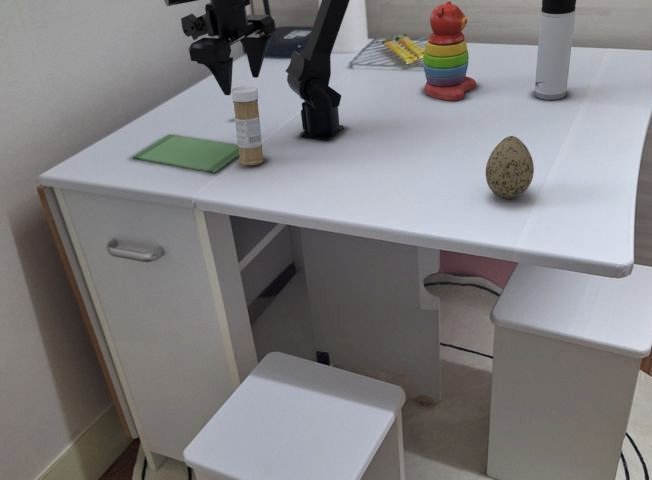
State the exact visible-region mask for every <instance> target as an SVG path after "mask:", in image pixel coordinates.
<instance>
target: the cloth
mask: <svg viewBox="0 0 652 480" xmlns="http://www.w3.org/2000/svg"><path fill="white" fill-rule="evenodd" d="M239 157H240V156H239V148H238V144H232V143H227V142H219V141H213V140H208V139H201V138H196V137H195V138H194V137H187V136H181V135H175V134H167V135H166V136H163V137H162V138H161V139H158V140H157V141H156V142H154V143H152V144H150V145H149V146H147V147H146V148H144V149H142V150H141V151H139V152H137V153H136V154H134V155H132V159H134V160H139V161H146V162H152V163H156V164H163V165H167V166H174V167H179V168H185V169H188V170H189V169H190V170H195V171H201V172H206V173H210V174H211V173H212V174H216V173H217V172H219V171H220V170H222V169H223V168H224V167H226V166H227V165H229V164H230V163H232V162H233V161H234V160H236V159H237V158H239Z"/></svg>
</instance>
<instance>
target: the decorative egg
mask: <svg viewBox="0 0 652 480" xmlns="http://www.w3.org/2000/svg"><path fill="white" fill-rule="evenodd" d="M534 170H535V167H534V160H533V157H532V154H531V152H530V150H529V149H528V147H527V146H526V144H525V143H524V142H523V141H522V140H521V139H519V138H518V137H517V136H514V135H509V136H506V137H504V138H503V139H502V140H501V141H499V143H497V145H496V146H495V147H494V148H493V150H492V151H491V153H490V155H489V157H488V159H487V162H486V166H485V180H486V184H487V185H488V188H489V189H490V191H491V192H492V193H493V194H494V195H495V196H497V197H499V198H501V199H508V200H510V199H514V198H518V197H519V196H521V195H522V194H524V193H525V192H526V191H527V190H528V188H529V187H530V186H531V184H532V182H533V178H534V173H535V171H534Z"/></svg>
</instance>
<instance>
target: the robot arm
mask: <svg viewBox="0 0 652 480" xmlns="http://www.w3.org/2000/svg"><path fill="white" fill-rule="evenodd" d="M163 1H164V3H165V5H166V7H171V6H177V5H182V4H187V3H192V2H198V1H199V0H163ZM349 4H350V0H321V2H320V4H319V8H318V11H317V13H316V17H315V19H314V23H313V26H312V28H311V32H310V35H309V37H308V41H307V43H306V45H305V47H304V48H303V49H302V50H301V51H300V52H297V51H295V50H293V51H292V52H291V56H290V62H289V65H288V67H287V68H286V69H285V72H286V73H287V76H286V81H287V84H288V87H289V88H290V89H291V90H292V92H294V93H295V94H296V95H298V96H299V98H300V99H301V100H303V102H301V109H300V117H301V127H302V131H303V132H301V133H300V137H302V138H308V139H315V140H322V141H331V139H333V138H334V137H335V136H337V134H339V133H340V132H341V131H342V130H344V129H345V126H344V125H342V124H340V115H339V107H340V103H341V100H342V95H341V94H340V93H339V92H338V91H337V90H335V89H334V88H332V87H331V86H329V85H330V79H331V75H332V74H331V73H332V66H331V65H332V64H331V63H332V61H331V55H332V52H333V49H334V46H335V43H336V41H337V38H338V35H339V32H340V29H341V27H342V24H343V20H344V18H345V15H346V12H347V9H348V7H349ZM249 5H251V0H209V2H208V3H206V4H205V6H204V10H205V13H204V14H202V15H199V16H196V15H195V14H194V13H190V14H188V15H185V16H183V17H181V18H180V23H181V29H182V32H183V34H184V35H185V36H186V37H188V38H189V37H191V38H192V41H194V42H192V43H191V44H190V45H189V47H188V54H189V58H190V61H191V62H195V63H197V64H198V65H203V66H204V67H206V68H207V69H208V70H209V71H210V73H211V74H212V76H213V77H214V80H215V81H216V83H217V84H218V86H219V88H220V89H221V92H222V93H223V95H224V96H231V95H232V85H233V67H234V66H233V65H234V57H233V56H231V54H232V53H231V52H232V48H231V46H232V45H234V44H236V43H238V42H240V43H241V44H242V45H243V47H244V48H245V52H246V53H245V54H246V57H247V61H248V65H249V70H250V73H251V76H252V78H254V79H255V78H256V79H257V78H259V76H260V73H261V69H262V66H263V63H264V59H265V56H266V53H267V50H268V49H269V48H268V47H269V44H270V42H271V39H272V38H273V33H275V32H276V31H277V30H276V22H275V20H274V18H273V17H272V16H271V14H251V13H249V14H248V13H247V6H249ZM205 35H207V36H208V37H202V38H200V39H198V38H199V37H201V36H205Z"/></svg>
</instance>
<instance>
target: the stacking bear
mask: <svg viewBox="0 0 652 480" xmlns="http://www.w3.org/2000/svg"><path fill="white" fill-rule="evenodd" d="M467 23H468V18H467V16H466V15H465V14H464V12H463V11H462V10H461V8H460V7H459V6H457V5H456V4H454V3H452V1H450V0H448V1H446V2H445V3H443V4H439V5H437V6H435V7H434V9H432V11H431V13H430V17H429V25H430V28H431V31H432V33H431V34H430V35H429V37H428V39H427V40H426V42H425V45H424V46H425V47H424V52H423V59H422V62H423V63H422V65H423V72H424V76H425V79H426V82H425V85H424V93H425V94H427V95H428V96H430V97H432V98H434V99H438V100H444V101H452V102H453V101H455V102H456V101H461V100H462V99H464V98H465V92H468V91H470V90H473V89H475V88H476V87H477V81H476V80H475V79H474V78H472V77H470V76H467V72H468V68H469V58H470V56H469V50H468V45H467V41H466V36H465V35H464V33H463V32H462V31H463V30H464V29H465V28H466V25H467Z"/></svg>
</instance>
